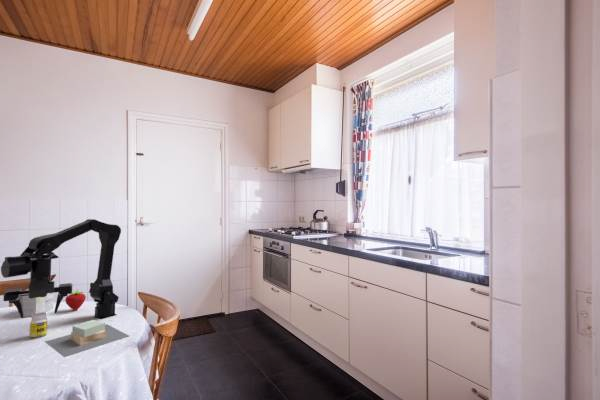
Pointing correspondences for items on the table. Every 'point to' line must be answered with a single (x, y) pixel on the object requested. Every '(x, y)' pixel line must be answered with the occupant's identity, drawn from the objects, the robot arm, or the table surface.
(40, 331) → the supplement bottle
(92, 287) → the robot arm
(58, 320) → the table surface
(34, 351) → the table surface
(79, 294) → the strawberry
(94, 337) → the tower bottom
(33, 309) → the light bulb box
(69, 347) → the mat
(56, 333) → the table surface
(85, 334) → the tower top
